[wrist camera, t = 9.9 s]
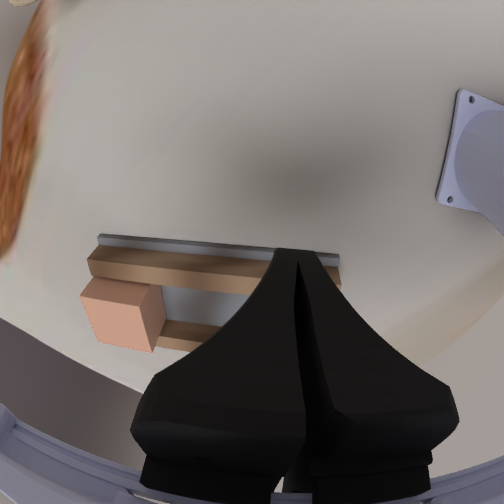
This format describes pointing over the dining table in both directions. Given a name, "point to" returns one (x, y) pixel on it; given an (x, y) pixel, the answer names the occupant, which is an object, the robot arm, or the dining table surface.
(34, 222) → the dining table surface
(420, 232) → the dining table surface
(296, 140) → the dining table surface
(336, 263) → the walnut chute
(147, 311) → the block
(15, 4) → the decorative ornament
